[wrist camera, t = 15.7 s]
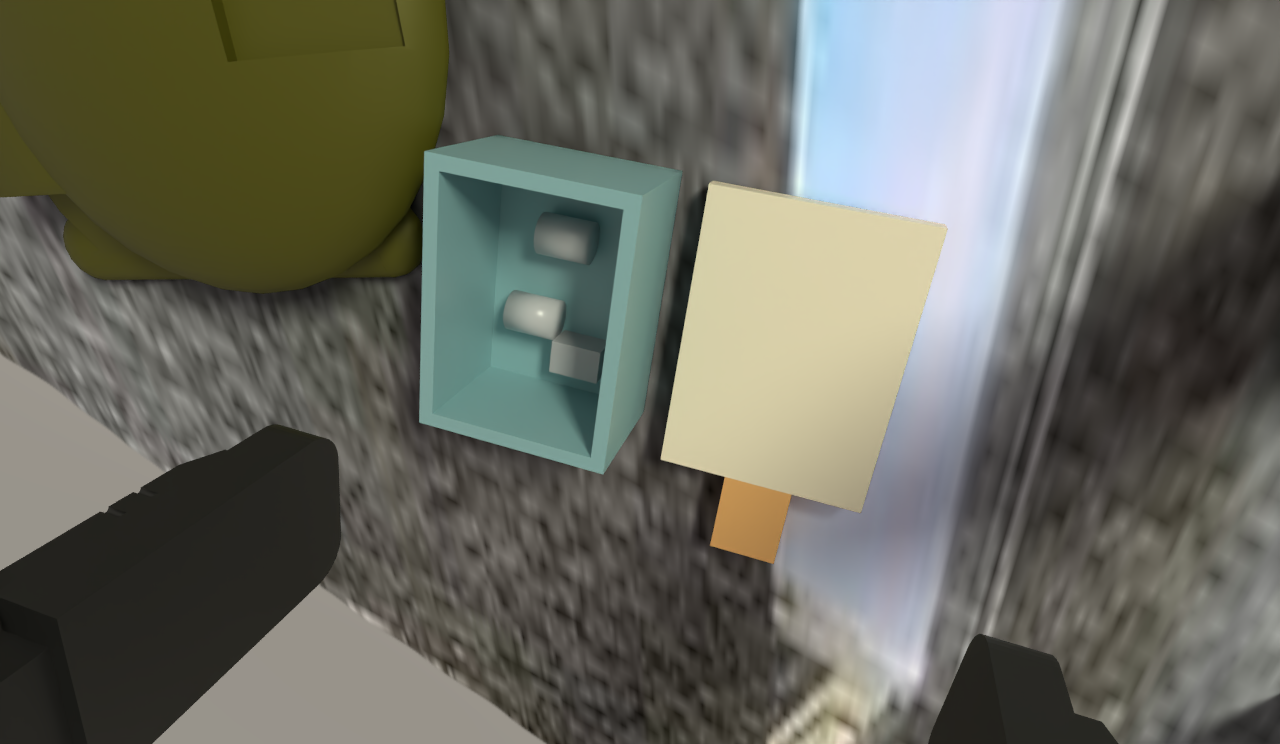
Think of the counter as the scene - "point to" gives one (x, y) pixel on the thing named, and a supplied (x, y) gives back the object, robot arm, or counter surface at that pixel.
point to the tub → (541, 294)
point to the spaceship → (225, 133)
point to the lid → (793, 353)
